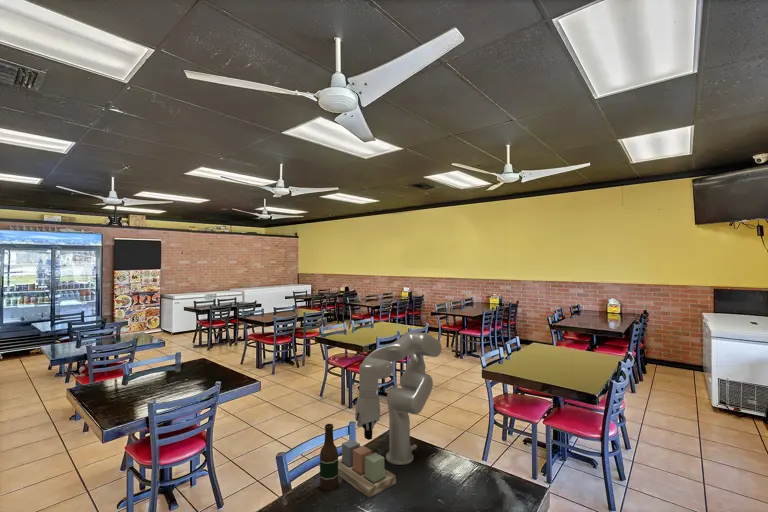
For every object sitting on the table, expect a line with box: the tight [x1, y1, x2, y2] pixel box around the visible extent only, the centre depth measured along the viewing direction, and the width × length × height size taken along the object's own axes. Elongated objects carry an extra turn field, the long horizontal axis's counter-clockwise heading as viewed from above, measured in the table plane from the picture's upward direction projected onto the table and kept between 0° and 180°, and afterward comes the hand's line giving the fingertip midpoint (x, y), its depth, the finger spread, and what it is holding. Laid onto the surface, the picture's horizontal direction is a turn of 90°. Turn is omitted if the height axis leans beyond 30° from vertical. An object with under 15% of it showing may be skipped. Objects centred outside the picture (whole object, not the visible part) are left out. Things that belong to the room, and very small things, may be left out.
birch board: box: [338, 458, 397, 498], centre depth 152 cm, size 14×26×3 cm, turn 42°
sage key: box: [364, 452, 385, 484], centre depth 146 cm, size 6×6×8 cm
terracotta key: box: [352, 445, 373, 476], centre depth 152 cm, size 6×6×8 cm
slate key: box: [341, 439, 361, 468], centre depth 158 cm, size 6×6×8 cm
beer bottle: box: [319, 423, 339, 492], centre depth 146 cm, size 8×8×24 cm
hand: (368, 438), depth 149 cm, fingers closed
